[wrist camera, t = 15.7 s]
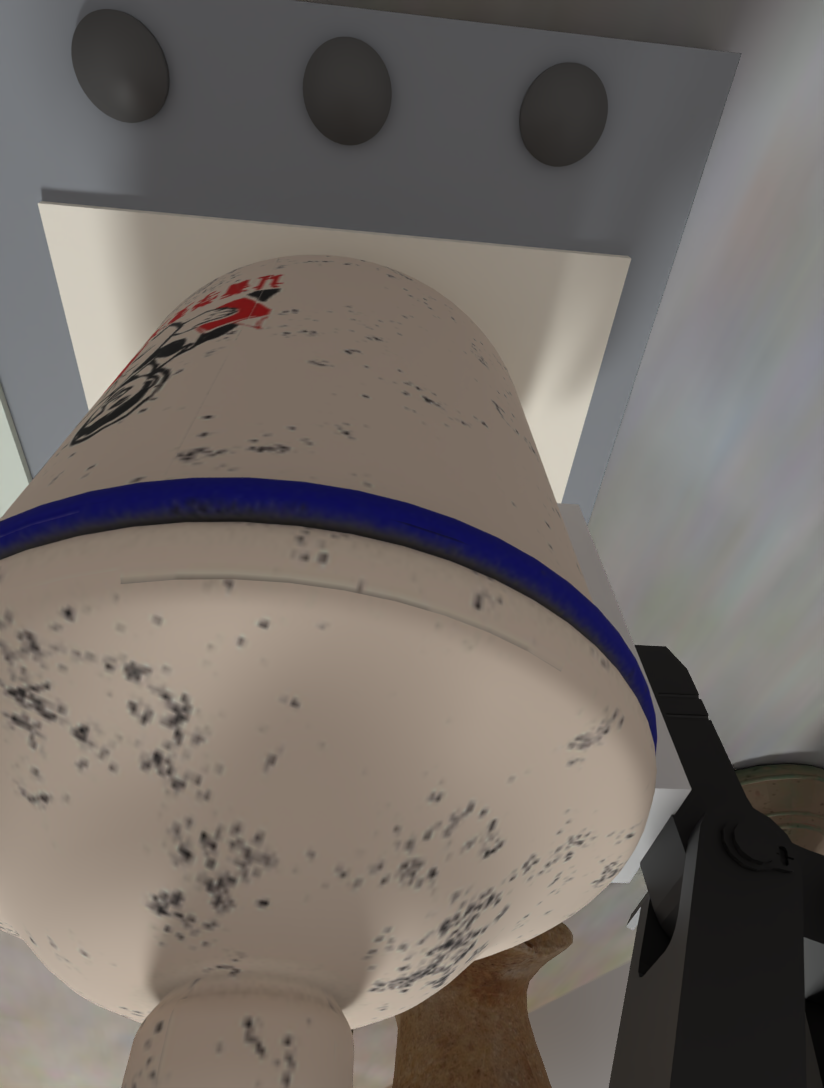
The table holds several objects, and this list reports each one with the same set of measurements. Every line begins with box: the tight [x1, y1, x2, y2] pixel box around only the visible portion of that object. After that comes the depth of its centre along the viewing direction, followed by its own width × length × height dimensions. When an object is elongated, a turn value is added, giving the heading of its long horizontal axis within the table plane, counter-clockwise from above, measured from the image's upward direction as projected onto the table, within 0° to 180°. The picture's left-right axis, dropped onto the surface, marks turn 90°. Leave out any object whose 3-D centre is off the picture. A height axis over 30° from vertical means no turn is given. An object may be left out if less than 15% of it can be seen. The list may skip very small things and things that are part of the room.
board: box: [0, 0, 742, 526], centre depth 15 cm, size 28×15×1 cm, turn 85°
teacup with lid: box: [0, 255, 657, 1088], centre depth 11 cm, size 12×9×12 cm
